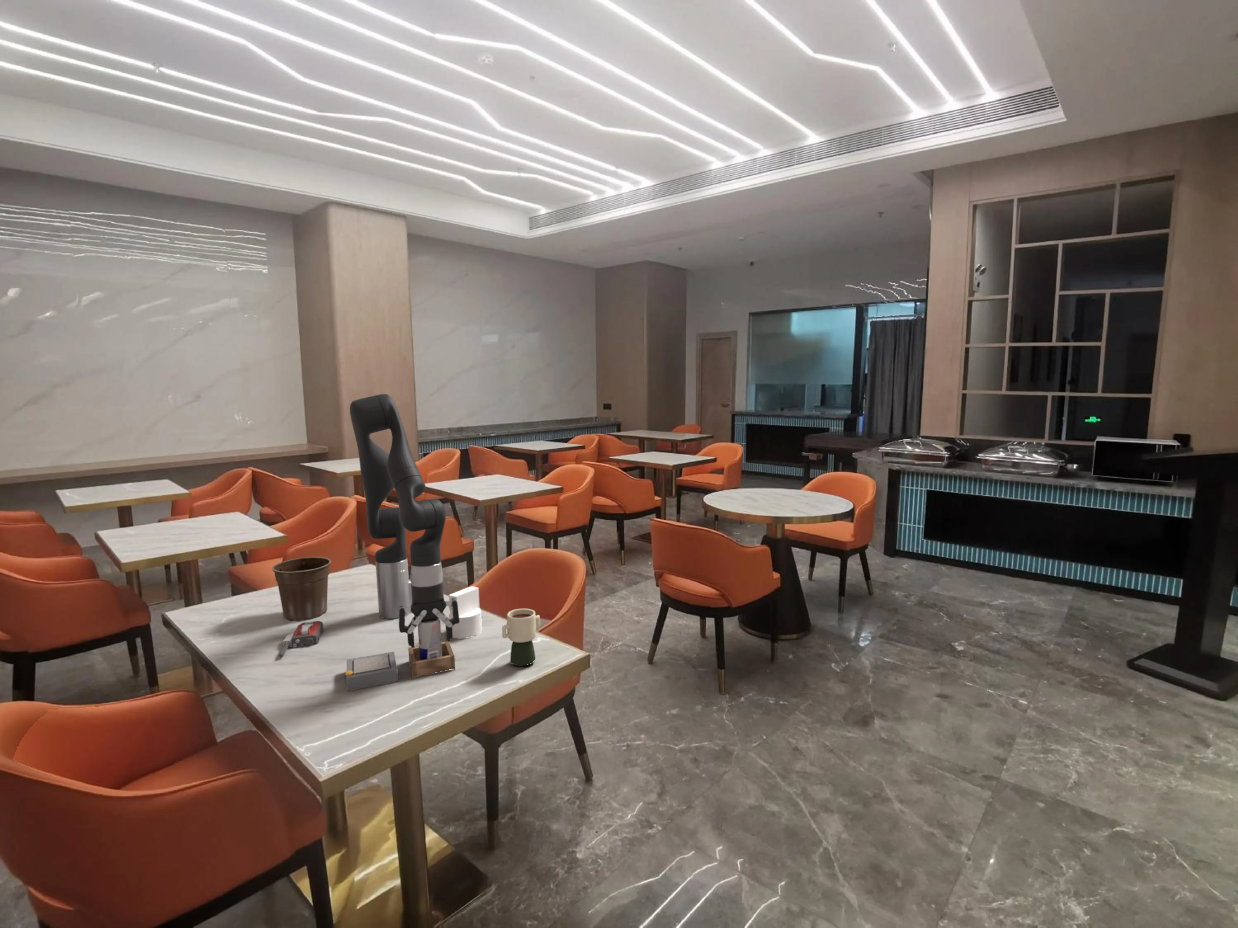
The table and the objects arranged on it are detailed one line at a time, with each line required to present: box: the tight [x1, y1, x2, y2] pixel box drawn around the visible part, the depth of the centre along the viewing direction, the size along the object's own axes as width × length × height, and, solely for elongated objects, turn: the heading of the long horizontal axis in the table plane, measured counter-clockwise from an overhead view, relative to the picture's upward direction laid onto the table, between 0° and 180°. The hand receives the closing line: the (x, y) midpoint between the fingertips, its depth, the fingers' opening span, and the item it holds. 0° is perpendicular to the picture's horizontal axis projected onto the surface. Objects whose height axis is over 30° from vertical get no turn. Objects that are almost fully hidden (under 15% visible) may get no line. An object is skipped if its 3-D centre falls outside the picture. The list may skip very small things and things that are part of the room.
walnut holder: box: [407, 641, 456, 678], centre depth 154 cm, size 10×10×4 cm
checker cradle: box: [345, 651, 399, 692], centre depth 149 cm, size 11×11×4 cm
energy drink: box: [417, 618, 442, 661], centre depth 154 cm, size 5×5×12 cm
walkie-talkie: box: [279, 620, 324, 658], centre depth 170 cm, size 9×4×20 cm
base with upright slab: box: [448, 586, 483, 639], centre depth 175 cm, size 9×9×12 cm
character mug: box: [501, 608, 541, 667], centre depth 154 cm, size 11×7×13 cm, turn 131°
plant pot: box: [271, 556, 332, 622], centre depth 191 cm, size 16×16×16 cm
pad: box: [353, 654, 390, 675], centre depth 149 cm, size 8×8×2 cm
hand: (430, 643), depth 154 cm, fingers open, 8 cm apart
